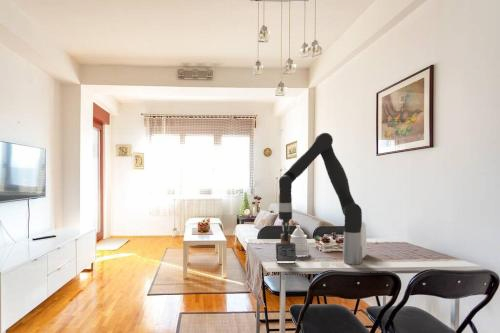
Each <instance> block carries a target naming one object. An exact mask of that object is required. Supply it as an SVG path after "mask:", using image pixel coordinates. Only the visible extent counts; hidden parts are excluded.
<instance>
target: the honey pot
mask: <svg viewBox="0 0 500 333" xmlns="http://www.w3.org/2000/svg"><path fill="white" fill-rule="evenodd" d="M295 227H296V228H295V229H294V231H293V232H292V234H290V243H294V244H295V249H296V255H308V254H309V255H310V245H309V242H308V239H307V237H308V235H307V234H305V232H304V230H303V229H302V228H301V225H296V226H295Z"/></svg>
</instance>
